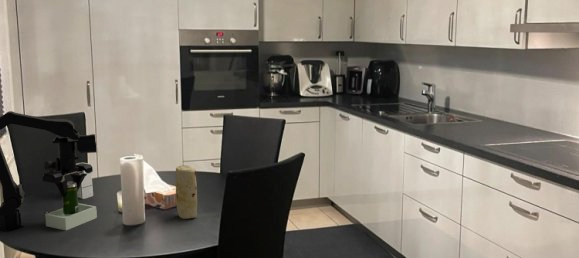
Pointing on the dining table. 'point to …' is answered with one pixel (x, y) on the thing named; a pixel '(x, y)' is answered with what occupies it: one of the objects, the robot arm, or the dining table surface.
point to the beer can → (70, 199)
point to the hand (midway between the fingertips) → (69, 195)
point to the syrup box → (86, 186)
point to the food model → (186, 192)
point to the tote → (71, 217)
